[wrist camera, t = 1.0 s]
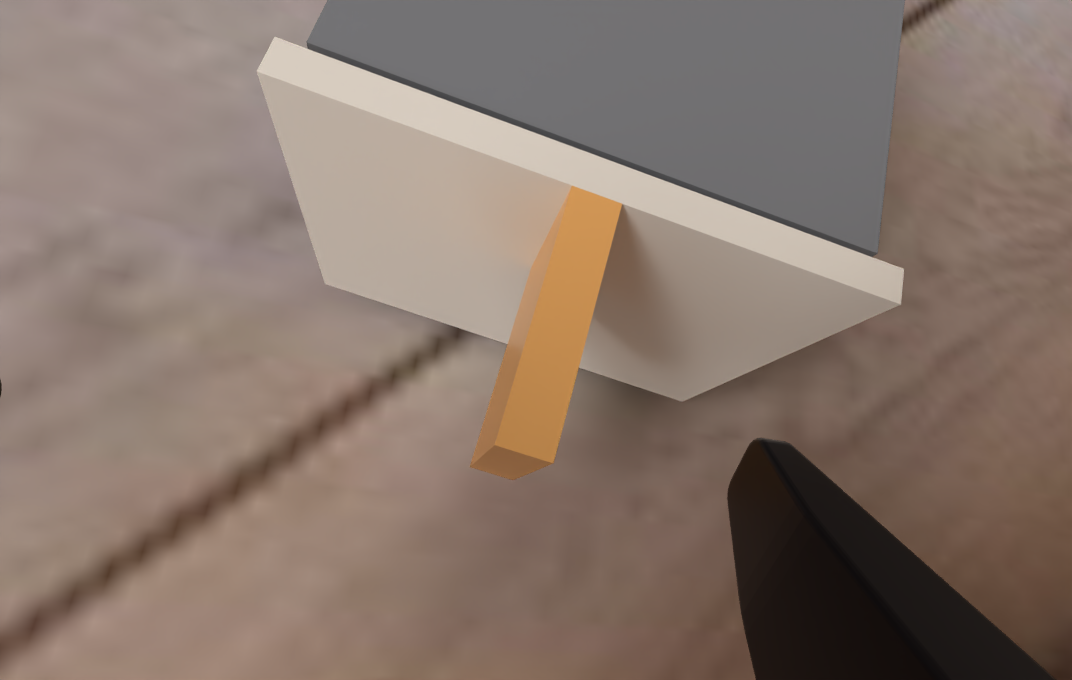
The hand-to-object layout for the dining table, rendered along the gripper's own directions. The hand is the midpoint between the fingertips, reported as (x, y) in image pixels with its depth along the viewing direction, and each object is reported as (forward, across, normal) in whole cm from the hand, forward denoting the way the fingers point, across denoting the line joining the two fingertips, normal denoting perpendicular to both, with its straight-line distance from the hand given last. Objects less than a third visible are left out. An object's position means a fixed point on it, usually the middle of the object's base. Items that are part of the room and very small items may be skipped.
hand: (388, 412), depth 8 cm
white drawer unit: (+15, -3, +5) cm, 16 cm away
